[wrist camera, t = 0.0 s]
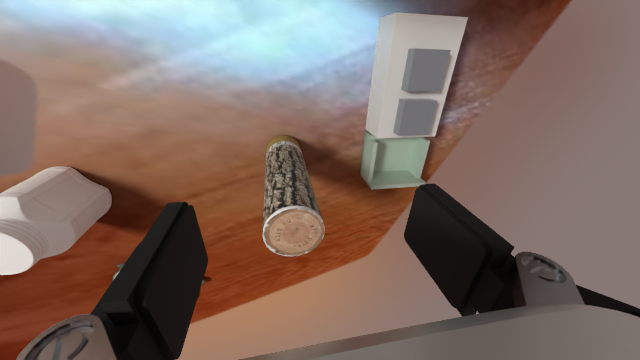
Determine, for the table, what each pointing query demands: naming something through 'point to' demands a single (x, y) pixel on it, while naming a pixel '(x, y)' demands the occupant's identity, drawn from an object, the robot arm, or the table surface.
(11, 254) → the jar
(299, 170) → the bark-textured canister
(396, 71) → the white rectangular block
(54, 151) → the table surface
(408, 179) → the box
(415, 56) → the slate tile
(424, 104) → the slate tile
